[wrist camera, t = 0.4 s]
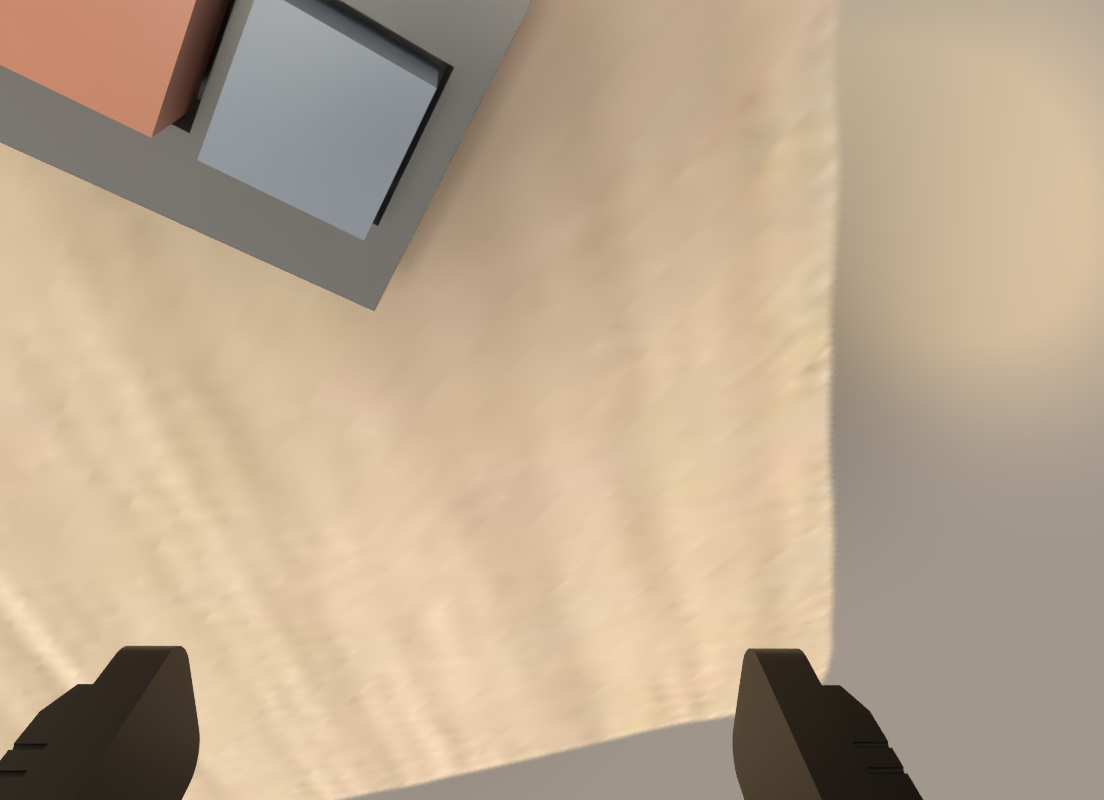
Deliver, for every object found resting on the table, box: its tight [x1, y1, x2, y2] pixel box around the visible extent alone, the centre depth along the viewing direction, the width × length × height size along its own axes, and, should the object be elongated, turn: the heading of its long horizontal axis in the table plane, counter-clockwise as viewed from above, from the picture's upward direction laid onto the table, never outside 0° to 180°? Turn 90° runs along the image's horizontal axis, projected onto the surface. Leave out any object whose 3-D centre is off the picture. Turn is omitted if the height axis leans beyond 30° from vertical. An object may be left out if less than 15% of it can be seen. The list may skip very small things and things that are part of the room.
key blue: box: [197, 0, 439, 240], centre depth 26 cm, size 6×6×4 cm
